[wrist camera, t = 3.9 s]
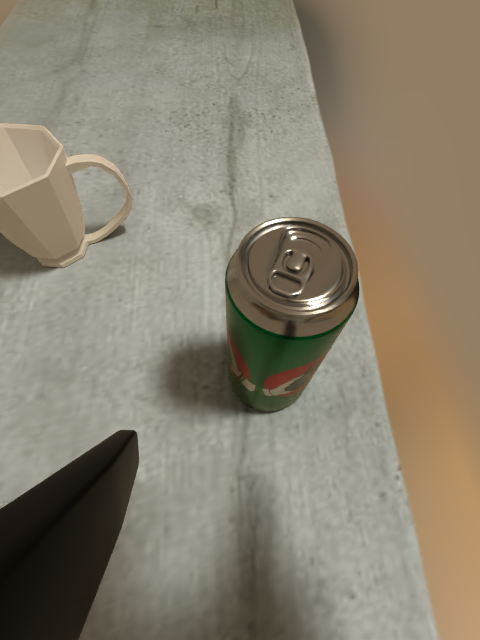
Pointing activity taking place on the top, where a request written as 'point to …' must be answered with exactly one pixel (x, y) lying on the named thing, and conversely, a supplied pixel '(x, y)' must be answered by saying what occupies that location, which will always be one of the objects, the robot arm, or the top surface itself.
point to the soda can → (285, 307)
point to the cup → (47, 195)
